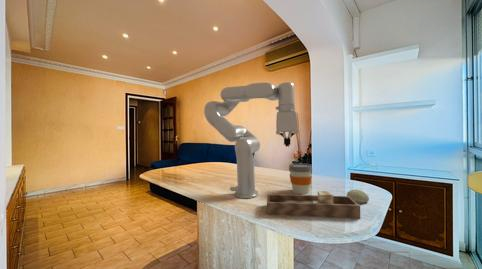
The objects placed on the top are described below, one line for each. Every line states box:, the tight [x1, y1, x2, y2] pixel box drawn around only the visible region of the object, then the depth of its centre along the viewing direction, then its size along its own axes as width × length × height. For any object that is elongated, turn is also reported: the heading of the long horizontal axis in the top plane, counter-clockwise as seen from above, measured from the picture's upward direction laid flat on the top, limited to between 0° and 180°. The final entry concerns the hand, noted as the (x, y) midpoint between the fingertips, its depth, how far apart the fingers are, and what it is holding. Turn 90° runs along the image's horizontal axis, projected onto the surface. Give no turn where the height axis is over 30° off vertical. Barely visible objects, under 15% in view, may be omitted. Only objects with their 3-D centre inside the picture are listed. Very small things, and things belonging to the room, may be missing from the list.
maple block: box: [317, 190, 334, 204], centre depth 84 cm, size 5×5×5 cm
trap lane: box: [266, 193, 361, 219], centre depth 85 cm, size 36×11×5 cm, turn 81°
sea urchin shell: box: [346, 189, 370, 204], centre depth 96 cm, size 9×8×8 cm
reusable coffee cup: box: [288, 162, 313, 195], centre depth 112 cm, size 13×13×15 cm
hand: (287, 146), depth 97 cm, fingers closed
